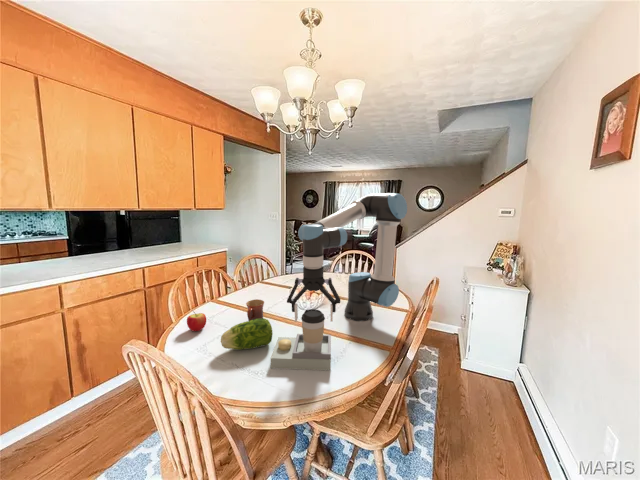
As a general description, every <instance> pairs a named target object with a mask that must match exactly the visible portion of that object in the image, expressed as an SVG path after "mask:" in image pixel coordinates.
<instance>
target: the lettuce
mask: <svg viewBox="0 0 640 480" xmlns="http://www.w3.org/2000/svg"><path fill="white" fill-rule="evenodd" d="M273 332H274V331H273V328H272V324H271V323H270V320H269V319H267V318H264V317H263V318H260V319H254V320H251V321H248V320H247V321H243V322H240V323H237V324H234V325H233V326H232V327H230V328H229V329H228V330H225V332H224V333H223V334H222V335H221V336H220V345H221V347H223V348H224V349H228V350H229V349H230V350H237V351H240V350H249V349H255V348H260V347H264V346H268V345H270V343H271V342H272V340H273V334H274V333H273Z"/></svg>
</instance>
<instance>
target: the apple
mask: <svg viewBox="0 0 640 480" xmlns="http://www.w3.org/2000/svg"><path fill="white" fill-rule="evenodd" d="M192 312H193V314H190V315H188V316H187V319H186V324H187V327H188V328H189V330H190V331H192V332H199V331H202V330H203V329H204V328H205V326H206V324H207V316H206V314H205V313H201V312H200V313H198V312H197V313H196V312H195V311H192Z"/></svg>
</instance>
